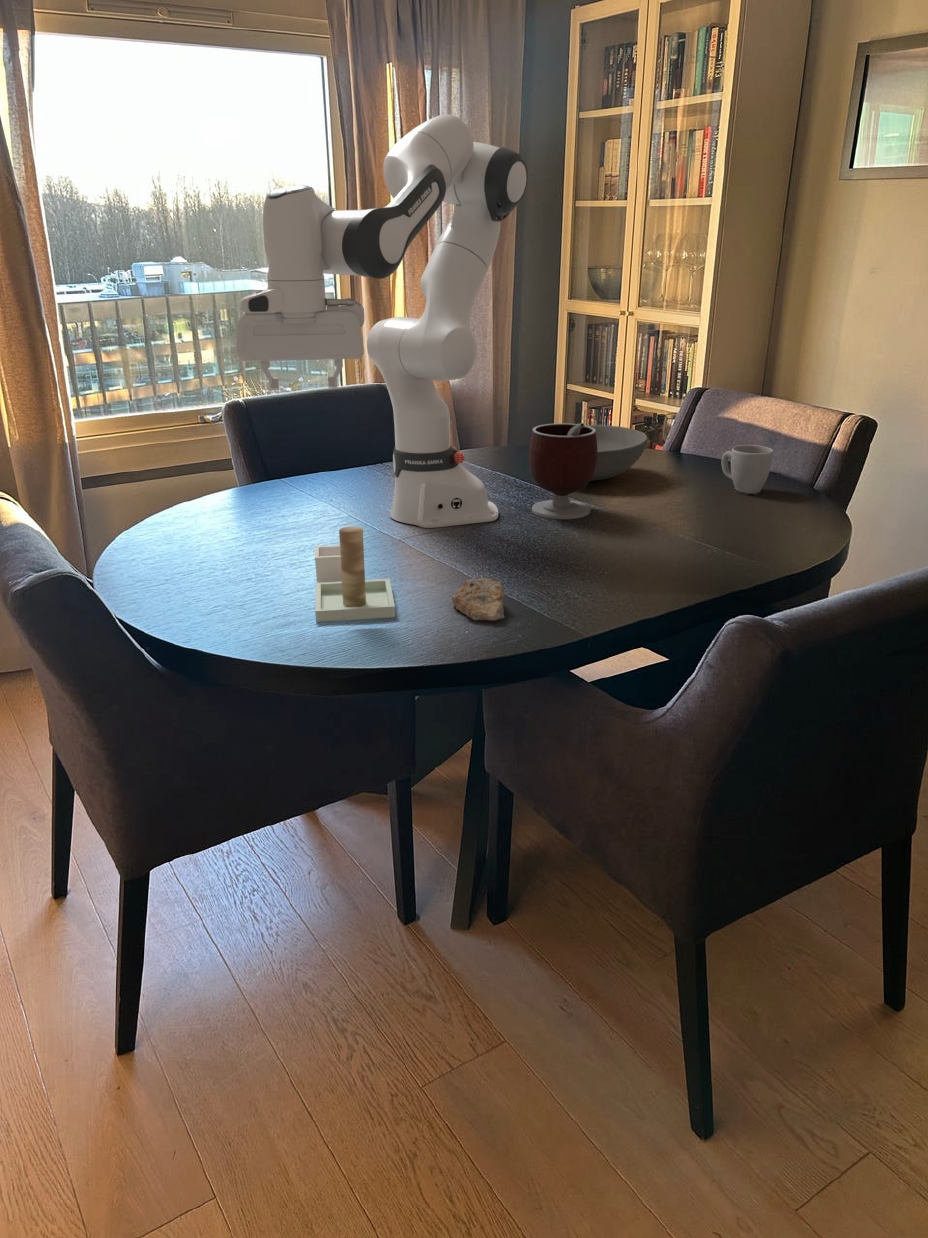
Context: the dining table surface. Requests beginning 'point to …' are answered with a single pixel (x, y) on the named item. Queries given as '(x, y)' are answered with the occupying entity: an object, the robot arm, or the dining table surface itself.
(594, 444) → the mate gourd
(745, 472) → the mug
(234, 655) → the dining table surface
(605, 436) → the bowl
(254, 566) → the dining table surface
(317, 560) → the pen cup
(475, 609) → the rock
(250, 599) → the dining table surface
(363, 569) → the dowel
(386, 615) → the tray
